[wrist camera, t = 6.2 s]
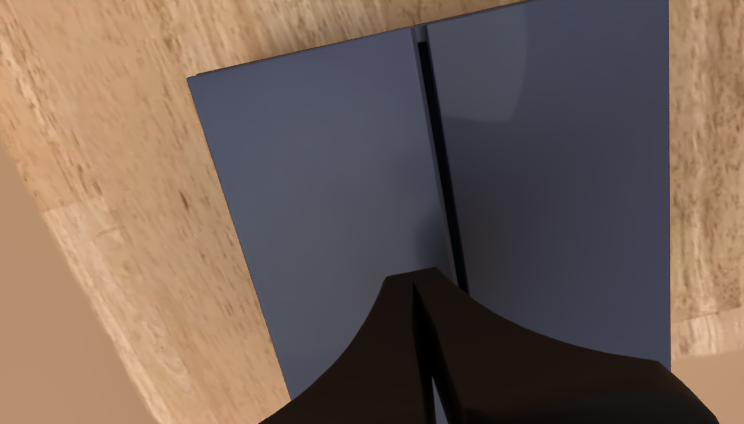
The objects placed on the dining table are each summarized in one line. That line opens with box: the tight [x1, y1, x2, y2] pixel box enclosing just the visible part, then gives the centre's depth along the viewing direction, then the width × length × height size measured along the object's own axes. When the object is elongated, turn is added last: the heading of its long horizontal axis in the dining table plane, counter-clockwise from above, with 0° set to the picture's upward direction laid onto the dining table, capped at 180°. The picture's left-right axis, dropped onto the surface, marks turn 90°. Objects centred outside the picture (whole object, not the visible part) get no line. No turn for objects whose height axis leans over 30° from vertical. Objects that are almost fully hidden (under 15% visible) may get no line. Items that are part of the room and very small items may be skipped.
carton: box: [197, 0, 671, 372], centre depth 18 cm, size 13×13×7 cm
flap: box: [187, 26, 458, 424], centre depth 14 cm, size 13×6×1 cm, turn 12°
